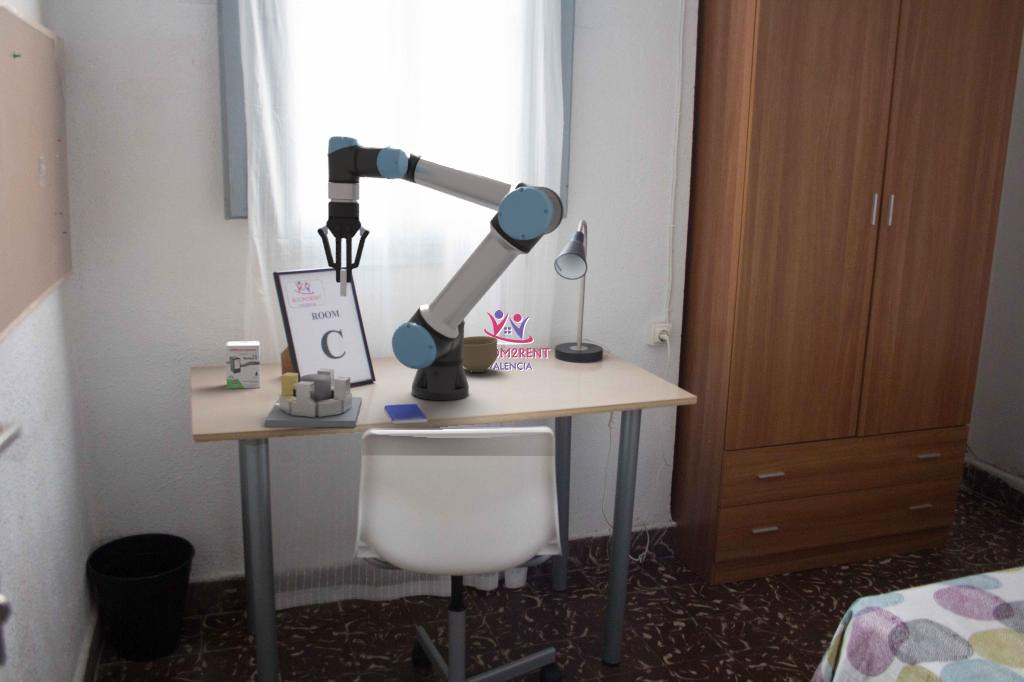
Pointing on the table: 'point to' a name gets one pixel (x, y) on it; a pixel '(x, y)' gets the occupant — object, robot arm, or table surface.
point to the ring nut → (301, 396)
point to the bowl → (479, 353)
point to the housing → (338, 420)
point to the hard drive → (405, 413)
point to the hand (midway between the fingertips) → (343, 295)
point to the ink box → (243, 364)
